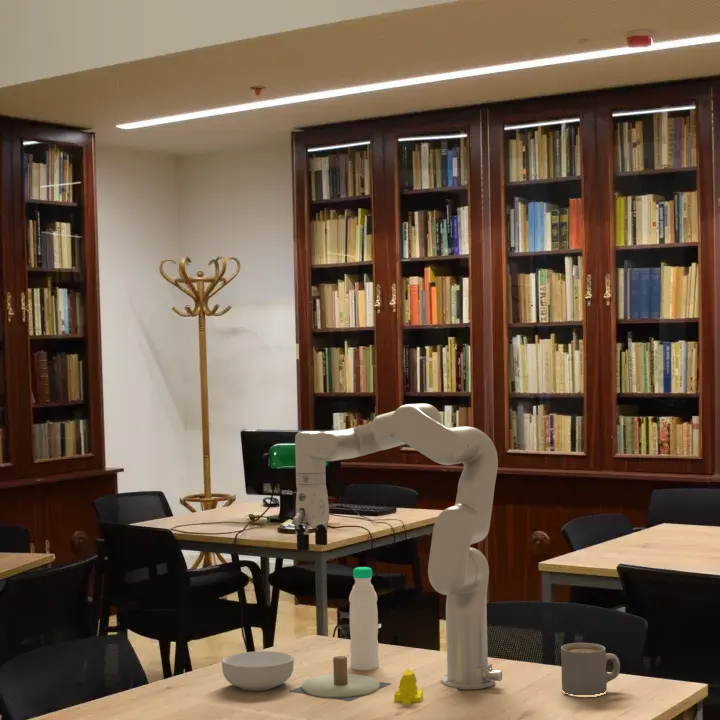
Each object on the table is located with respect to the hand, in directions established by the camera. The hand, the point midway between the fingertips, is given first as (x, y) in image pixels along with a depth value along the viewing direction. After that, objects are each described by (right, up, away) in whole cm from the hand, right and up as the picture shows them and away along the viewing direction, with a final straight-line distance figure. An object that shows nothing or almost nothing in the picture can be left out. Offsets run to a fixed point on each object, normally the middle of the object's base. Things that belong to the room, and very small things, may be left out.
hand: (312, 547), depth 299 cm
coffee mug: (+64, -28, -32) cm, 77 cm away
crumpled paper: (+23, -29, -37) cm, 52 cm away
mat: (+8, -29, -26) cm, 39 cm away
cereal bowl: (-12, -30, -22) cm, 39 cm away
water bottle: (+13, -29, -6) cm, 33 cm away
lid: (+8, -28, -26) cm, 39 cm away
